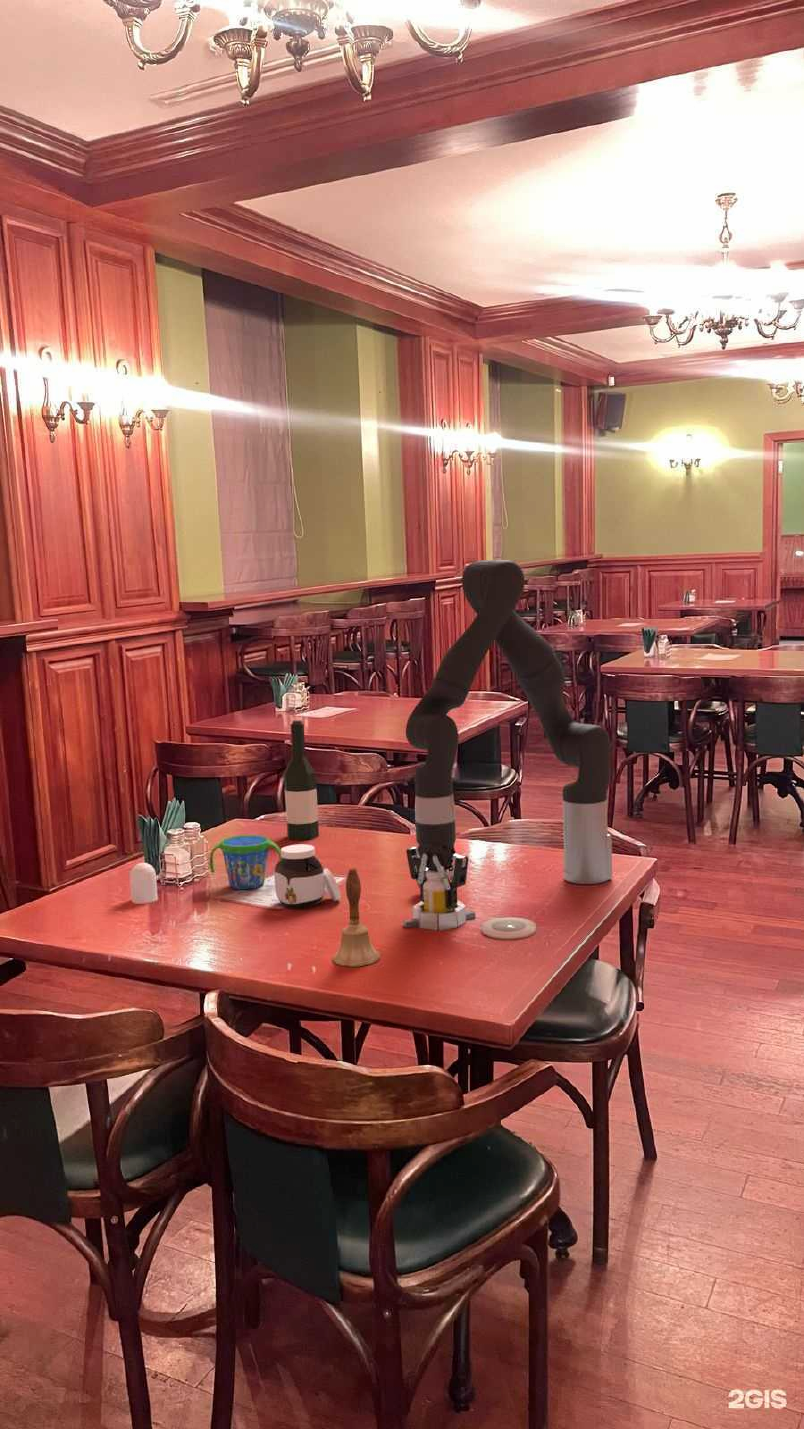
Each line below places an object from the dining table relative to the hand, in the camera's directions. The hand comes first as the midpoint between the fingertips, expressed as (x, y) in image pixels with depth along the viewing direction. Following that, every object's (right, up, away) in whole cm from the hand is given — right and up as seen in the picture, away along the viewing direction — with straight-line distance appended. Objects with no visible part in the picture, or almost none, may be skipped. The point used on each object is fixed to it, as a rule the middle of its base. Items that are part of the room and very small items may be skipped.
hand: (438, 904), depth 212 cm
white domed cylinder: (-61, -3, +23) cm, 66 cm away
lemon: (-1, -1, +18) cm, 18 cm away
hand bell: (-15, -7, -18) cm, 24 cm away
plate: (+13, -4, -6) cm, 15 cm away
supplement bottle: (0, -3, 0) cm, 3 cm away
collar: (0, -3, 0) cm, 3 cm away
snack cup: (-41, -1, +30) cm, 51 cm away
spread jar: (-26, -3, +16) cm, 31 cm away
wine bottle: (-32, +5, +73) cm, 80 cm away
